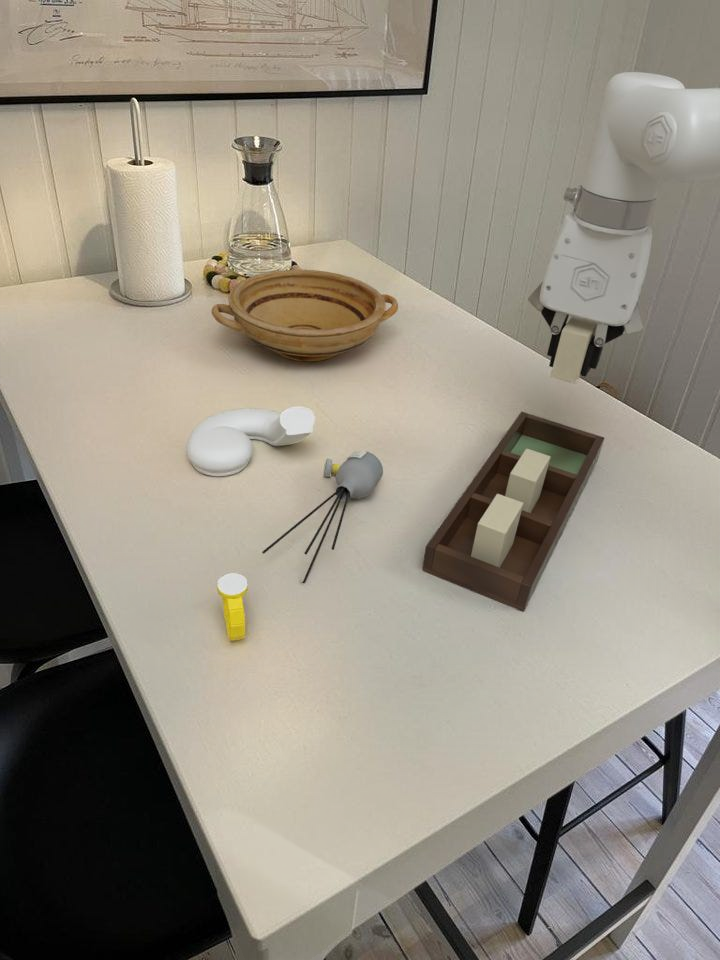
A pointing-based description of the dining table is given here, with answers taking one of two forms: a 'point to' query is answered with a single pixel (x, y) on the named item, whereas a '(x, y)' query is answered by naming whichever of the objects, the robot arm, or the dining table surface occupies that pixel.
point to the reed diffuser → (345, 490)
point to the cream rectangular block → (573, 349)
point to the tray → (535, 530)
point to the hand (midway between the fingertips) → (570, 365)
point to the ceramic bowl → (305, 312)
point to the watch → (233, 603)
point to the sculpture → (243, 436)
